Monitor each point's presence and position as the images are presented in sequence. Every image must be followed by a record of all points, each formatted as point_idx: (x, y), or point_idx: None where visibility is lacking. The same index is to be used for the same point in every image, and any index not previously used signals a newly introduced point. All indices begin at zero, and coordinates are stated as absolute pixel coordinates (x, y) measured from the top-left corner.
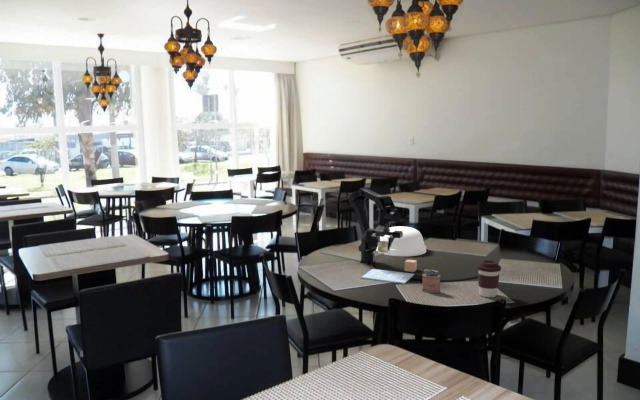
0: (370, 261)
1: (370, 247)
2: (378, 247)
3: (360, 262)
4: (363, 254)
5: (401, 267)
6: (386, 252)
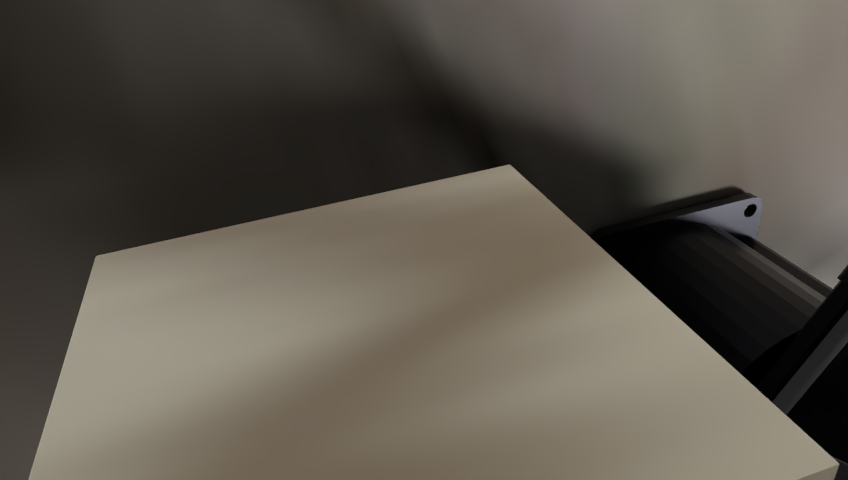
0: None
1: (824, 417)
2: (575, 265)
3: (747, 193)
4: (812, 290)
5: (35, 376)
6: (114, 256)
